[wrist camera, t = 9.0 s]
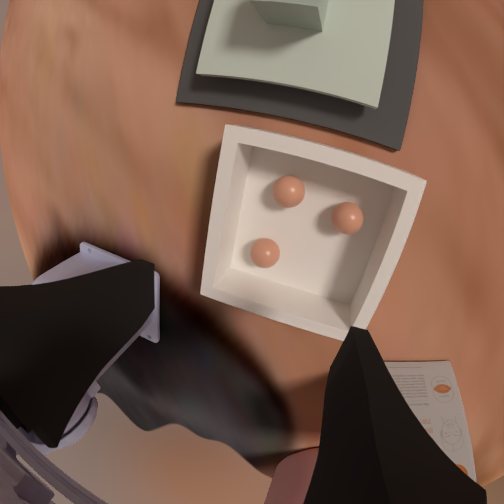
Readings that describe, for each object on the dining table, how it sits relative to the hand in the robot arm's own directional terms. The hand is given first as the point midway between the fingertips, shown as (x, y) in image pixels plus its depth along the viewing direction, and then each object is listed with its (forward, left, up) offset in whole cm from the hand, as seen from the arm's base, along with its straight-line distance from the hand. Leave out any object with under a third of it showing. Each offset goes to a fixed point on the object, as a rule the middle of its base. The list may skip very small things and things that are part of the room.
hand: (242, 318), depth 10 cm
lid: (-2, +14, -8) cm, 16 cm away
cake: (+17, -30, -10) cm, 36 cm away
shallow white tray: (+1, +1, -9) cm, 9 cm away
